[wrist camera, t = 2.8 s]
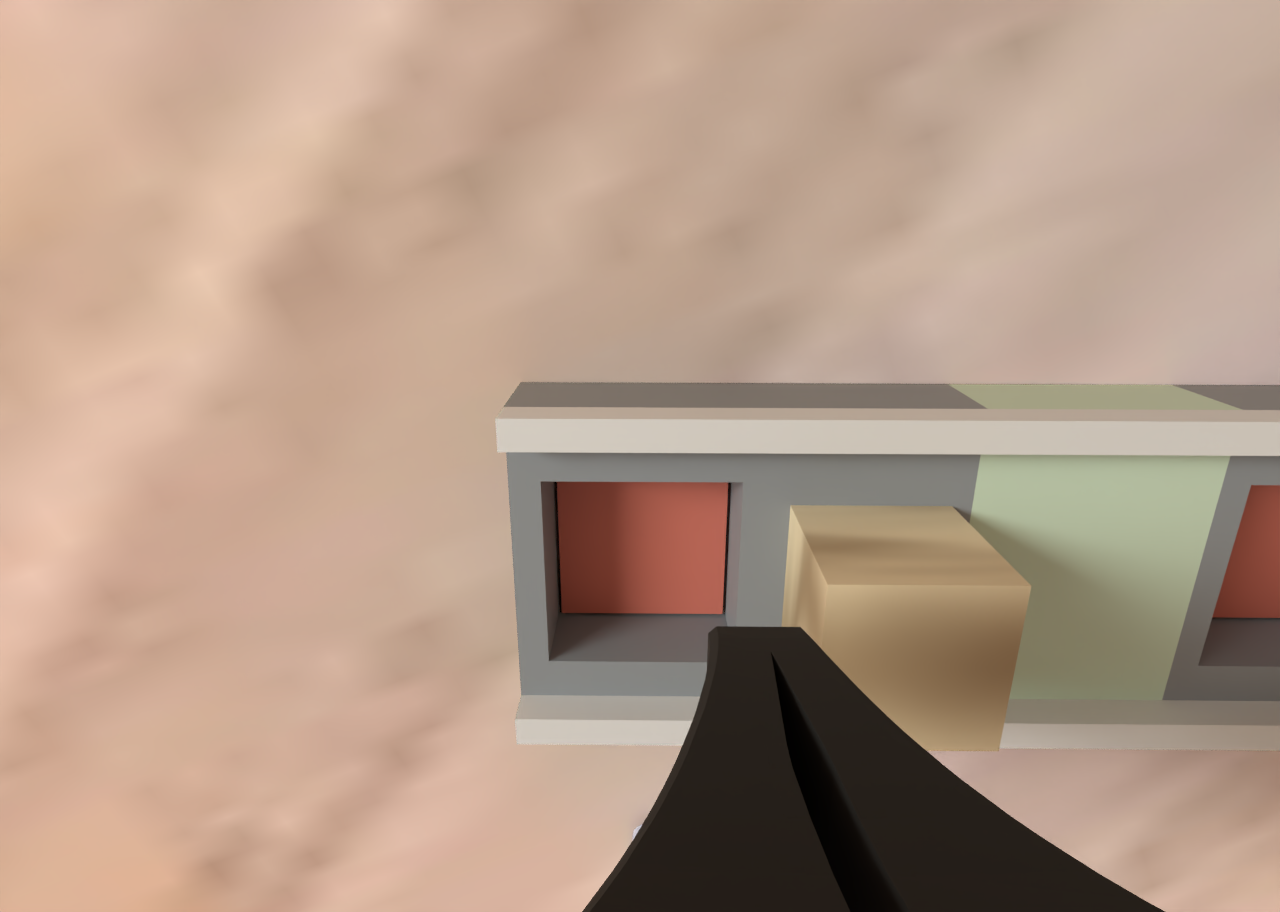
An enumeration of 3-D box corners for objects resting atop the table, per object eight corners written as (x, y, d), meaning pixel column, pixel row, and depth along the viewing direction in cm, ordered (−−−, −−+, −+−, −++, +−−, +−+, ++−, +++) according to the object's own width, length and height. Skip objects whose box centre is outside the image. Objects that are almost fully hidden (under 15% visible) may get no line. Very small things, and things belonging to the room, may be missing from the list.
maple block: (931, 644, 20) (998, 751, 16) (779, 643, 20) (811, 749, 16) (952, 506, 18) (1031, 586, 14) (790, 505, 18) (827, 584, 14)
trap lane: (1315, 671, 23) (1429, 752, 19) (535, 665, 23) (516, 744, 20) (1416, 386, 20) (1572, 423, 16) (521, 382, 20) (495, 418, 17)
